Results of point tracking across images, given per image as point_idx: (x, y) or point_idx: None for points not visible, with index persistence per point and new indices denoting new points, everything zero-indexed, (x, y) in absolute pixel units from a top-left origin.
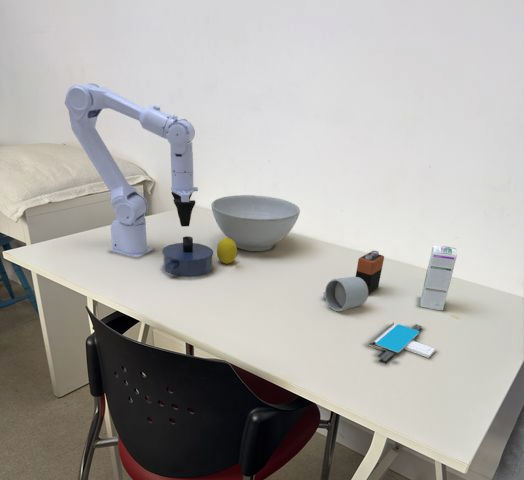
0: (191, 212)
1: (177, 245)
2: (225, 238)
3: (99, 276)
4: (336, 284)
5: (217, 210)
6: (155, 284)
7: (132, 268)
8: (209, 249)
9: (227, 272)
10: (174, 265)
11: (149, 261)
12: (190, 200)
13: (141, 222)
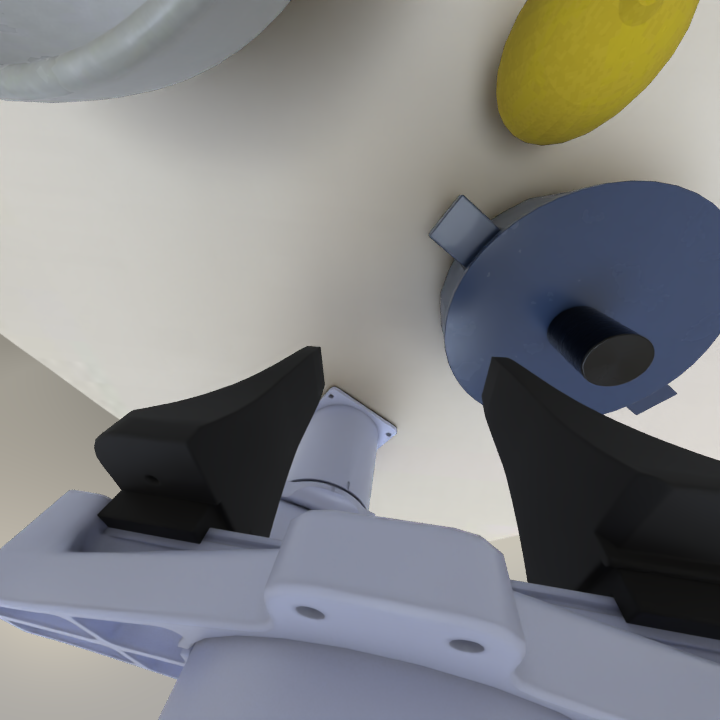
0: (600, 414)
1: (479, 362)
2: (643, 19)
3: (504, 501)
4: None
5: (168, 13)
6: (624, 409)
7: (470, 444)
8: (598, 203)
9: (649, 97)
10: (668, 387)
11: (424, 403)
12: (637, 532)
13: (352, 501)
